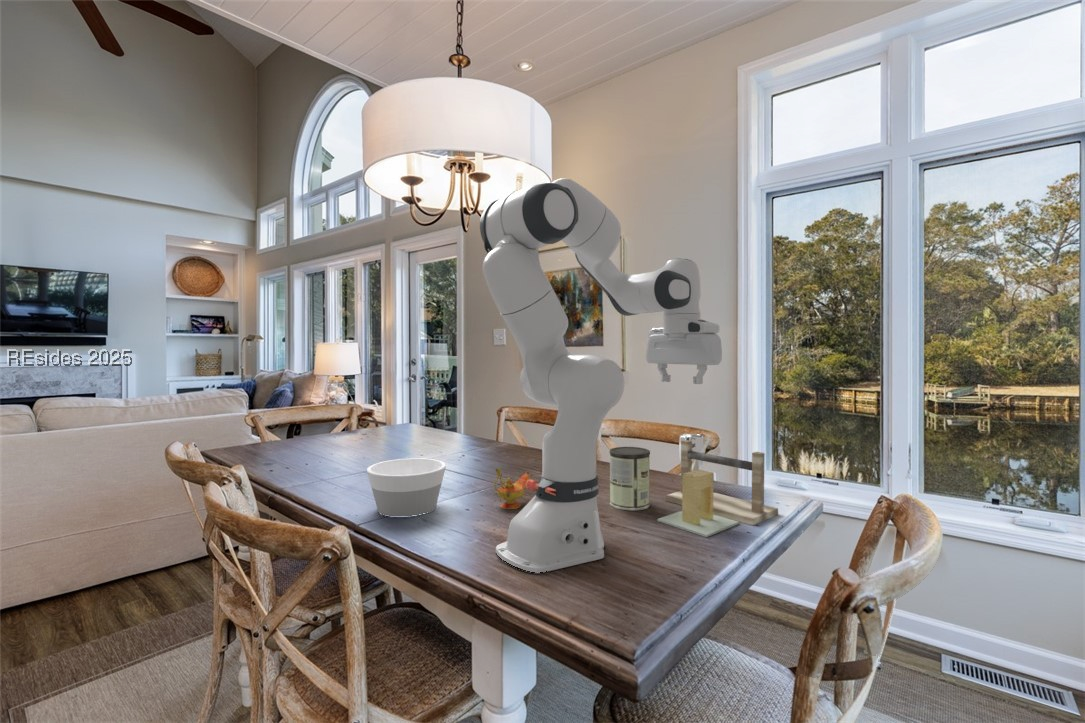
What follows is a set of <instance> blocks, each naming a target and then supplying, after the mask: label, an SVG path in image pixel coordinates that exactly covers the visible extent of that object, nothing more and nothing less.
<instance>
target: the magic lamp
mask: <svg viewBox="0 0 1085 723" xmlns="http://www.w3.org/2000/svg"><path fill="white" fill-rule="evenodd" d="M495 472H496V475H497V477H496V478H495V481H494V489H495V491H496V493H497V495H498V497H500V498H499V501H500V502H503V501H505V500H506V501H505V502H504V503H502V504H501V505H500V507H501V508H502V509H507V510H514V509H519V508H520V507H521V504H520V503H518V502H517V501H516V500H518V499H520V498H521V497H523V495H524V494H525V489H526V482H527V480H529V479H530V478H531V474H532V473H533V471H528V470H527V471H525V473H524V474H523V475H521V476H520V478H519V479H518V480H517V481H515V482H512V480H511V478H510V477H507V479H506V480H505V481H504V483H503V470H502V469H501V468H495ZM498 479H500V480H499V482H500V487H499V488H497V486H496V485H497V481H498Z"/></svg>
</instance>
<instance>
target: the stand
mask: <svg viewBox="0 0 1085 723" xmlns="http://www.w3.org/2000/svg"><path fill="white" fill-rule="evenodd" d="M751 454H752V455H751V461H748V460H742V459H739V458H738V459H737V458H732V457H726V456H721V455H715V454H710V453H700V452H694V451H692V441H689V440H683V441H681V463H680V484H681V486H680V490H678V491H676V492H672V493H670V494H666V495H665V501H667V502H670V503H673V504H677V505H681V506H682V474H683V473H686V472H690V471H692V459H695V460H701V461H703V462H705V463H711V464H716V465H722V466H727V467H731V468H737V469H741V470H747V471H751V500H745V499H742V498H737V497H734V496H733V497H732V496H729V495H725V494H721V493H718V492H714V491H713V514H714V515H717V516H721V517H724V518H728V519H731V520H735V521H738V522H739V523H743V524H746V525H750V526H755V525H758V524H760V523H762V522H765V521H766V520H769V519H771V518H774V517H775V516H778V515H779V508H778V507H774V506H770V505H766V504H765V455H766V454H765V452H760V451H753V452H751Z"/></svg>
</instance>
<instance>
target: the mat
mask: <svg viewBox="0 0 1085 723" xmlns="http://www.w3.org/2000/svg"><path fill="white" fill-rule="evenodd" d="M656 521H657V522H660V523H662V524H665V525H668V526H672V527H674V528H677V529H681V530H683V531H687V532H690V533H693V534H696V535H699V536H702V537H705V538H708V537H711V536H713V535H715V534H718V533H720V532H723V531H726V530H728V529H730V528H732V527H735V526H737V525H738V526H739V524H740V522H739V521H735V520H732V519H728V518H725V517H721V516H718V515H714V514H713V520H711V521H709V520H706V519H703V518H700V525H698V526H696V525H693V524H690V523H687V522H684V521H682V510H679V511H677V512H673V513H671V514H667V515H664V516H662V517H659V518H657V520H656Z"/></svg>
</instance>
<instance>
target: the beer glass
mask: <svg viewBox="0 0 1085 723" xmlns="http://www.w3.org/2000/svg"><path fill="white" fill-rule="evenodd" d="M683 440H689V441H692V451H694V452H700V453H704V452H705V445H704V444H705V443H704V435H702V434H697V433H681V434H679V443H678V444H679V445H678V455H679V456H678V457H679V461H680V463H679V464H681V441H683ZM703 462H704V461H701V460H695V459H692V471H694V470H698V469H699V470H702V468H703ZM679 486H680V487H681V483H679Z"/></svg>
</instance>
